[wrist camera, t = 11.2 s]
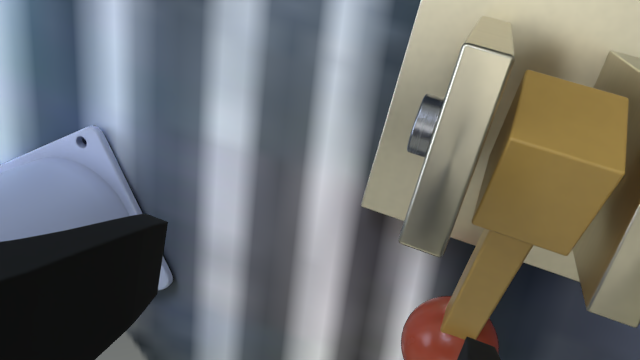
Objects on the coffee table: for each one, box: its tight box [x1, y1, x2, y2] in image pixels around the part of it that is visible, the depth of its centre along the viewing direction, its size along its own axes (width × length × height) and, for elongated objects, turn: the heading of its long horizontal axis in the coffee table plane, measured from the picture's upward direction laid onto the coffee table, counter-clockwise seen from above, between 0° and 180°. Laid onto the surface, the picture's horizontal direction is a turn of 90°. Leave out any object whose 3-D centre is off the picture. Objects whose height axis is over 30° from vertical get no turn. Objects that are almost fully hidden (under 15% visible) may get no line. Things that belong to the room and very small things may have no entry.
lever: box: [401, 70, 629, 360], centre depth 16 cm, size 12×3×3 cm, turn 166°
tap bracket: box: [361, 0, 640, 328], centre depth 16 cm, size 11×9×10 cm
